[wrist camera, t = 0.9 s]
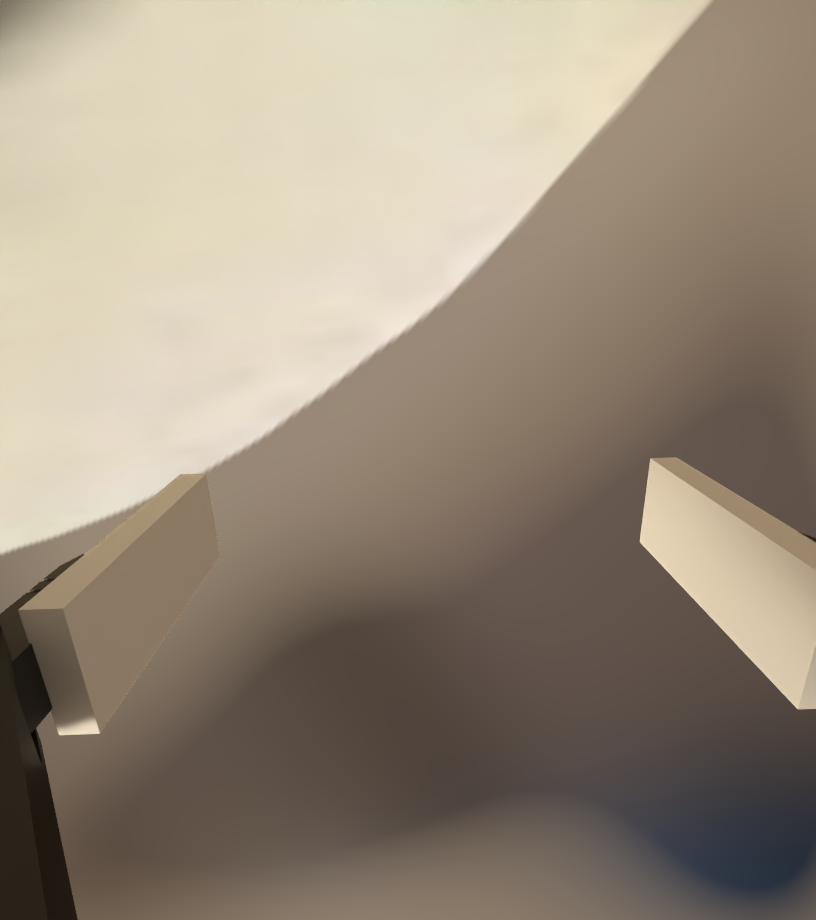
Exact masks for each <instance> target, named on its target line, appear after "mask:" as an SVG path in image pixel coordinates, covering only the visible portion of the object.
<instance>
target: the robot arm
mask: <svg viewBox="0 0 816 920" xmlns="http://www.w3.org/2000/svg"><path fill="white" fill-rule="evenodd" d="M640 543H641V544H642V545H643V546H644V547H645V548H646V549H647V550H648V551H649V552H650V553H651V554H652V555H653V557H655V559H656V560H657V561H658V562H659V563H660V564H661V565H662V566H663V567H664V568H665V569H666V570H667V571H668V572H669V573H670V574H671V576H673V578H674V579H675V580H676V581H677V582H678V583H679V584H680V585H681V586H682V587H683V588H684V589H685V590H686V591H687V592H688V594H689V595H690V596H691V597H692V598H693V599H694V600H695V601H696V602H697V603H698V604H699V605H700V606H701V607H702V608H703V609H704V610H705V612H706V613H707V614H708V615H709V616H710V617H711V618H712V619H713V620H714V621H715V622H716V623H717V624H718V625H719V626H720V627H721V628H722V629H723V631H724V632H725V633H726V634H727V635H728V636H729V637H730V638H731V639H732V640H733V641H734V642H735V643H736V644H737V645H738V646H739V648H740V649H742V651H743V652H744V653H745V654H746V655H747V656H748V657H749V658H750V659H751V660H752V661H753V662H754V663H755V664H756V665H757V667H758V668H759V669H760V670H761V671H762V672H763V673H764V674H765V675H766V676H767V677H768V678H769V679H770V680H771V681H772V682H773V683H774V685H775V686H776V687H777V688H778V689H779V690H780V691H781V692H782V693H783V694H784V695H785V696H786V697H787V698H788V699H789V700H790V702H791V703H792V704H793V705H794V706H795V707H796V708H797V709H816V538H814V537H811V536H808V535H806V534H803V533H800V532H798V531H796V530H794V529H793V528H791V527H789V526H788V525H786V524H784V523H783V522H781V521H780V520H778V519H776V518H774V517H773V516H771V515H770V514H768V513H766V512H764V511H763V510H761V509H760V508H758V507H756V506H755V505H753V504H752V503H750V502H748V501H746V500H745V499H743V498H742V497H740V496H739V495H737V494H735V493H734V492H732V491H730V490H728V489H727V488H725V487H724V486H722V485H721V484H719V483H717V482H716V481H714V480H712V479H711V478H709V477H707V476H706V475H704V474H702V473H701V472H699V471H698V470H696V469H694V468H693V467H691V466H689V465H687V464H686V463H684V462H683V461H681V460H680V459H678V458H651V459H650V466H649V474H648V482H647V489H646V498H645V505H644V513H643V521H642V529H641V536H640ZM219 558H220V551H219V545H218V539H217V534H216V529H215V522H214V516H213V510H212V504H211V499H210V493H209V487H208V481H207V475H206V474H180V475H179V476H178V477H177V478H175V479H174V480H173V481H172V482H171V483H169V484H168V485H167V486H166V487H165V488H163V489H162V490H161V491H160V492H159V493H158V494H156V495H155V496H154V497H153V498H152V499H150V500H149V501H148V502H147V503H146V504H144V505H143V506H142V507H141V508H140V509H138V510H137V511H136V512H135V513H134V514H132V515H131V516H130V517H129V518H128V519H126V520H125V521H124V522H123V523H122V524H121V525H119V526H118V527H117V528H116V529H114V530H113V531H112V532H111V533H110V534H108V535H107V536H106V537H105V538H104V539H102V540H101V541H100V542H99V543H98V544H96V545H95V546H94V547H93V548H92V549H91V550H89V551H88V552H87V553H86V554H82V555H80V556H78V557H77V558H74V559H73V560H71V561H69V562H67V563H65V564H63V565H61V566H59V567H58V568H57V569H56V570H54V571H53V572H52V573H51V574H49V575H48V576H47V577H46V578H44V581H43V582H39V583H38V584H37V585H36V586H35V587H33V588H32V589H31V590H30V593H26V594H25V595H23V596H22V597H21V598H20V599H18V600H17V601H16V602H15V603H13V604H12V605H11V606H10V607H9V608H7V609H6V610H5V611H4V612H2V613H1V614H0V920H78V919H77V914H76V909H75V905H74V900H73V895H72V890H71V885H70V880H69V876H68V871H67V866H66V861H65V856H64V851H63V846H62V841H61V837H60V832H59V827H58V822H57V817H56V813H55V808H54V803H53V798H52V793H51V788H50V783H49V778H48V773H47V769H46V764H45V759H44V754H43V749H42V745H41V741H40V738H39V735H38V732H37V729H36V727H37V726H38V725H39V724H40V723H41V721H42V720H43V719H44V718H45V717H46V715H47V714H48V713H49V712H50V711H51V712H52V715H53V718H54V721H55V724H56V727H57V730H58V733H59V735H75V734H100V733H101V731H102V730H103V728H104V727H105V725H106V724H107V723H108V721H109V720H110V718H111V716H112V715H113V714H114V712H115V710H116V709H117V708H118V706H119V705H120V703H121V702H122V700H123V699H124V697H125V696H126V695H127V693H128V692H129V690H130V689H131V687H132V686H133V684H134V683H135V681H136V680H137V678H138V677H139V675H140V674H141V672H142V671H143V670H144V668H145V667H146V665H147V664H148V662H149V661H150V659H151V658H152V656H153V655H154V653H155V652H156V650H157V649H158V647H159V646H160V644H161V643H162V642H163V640H164V639H165V637H166V636H167V634H168V633H169V631H170V630H171V628H172V627H173V625H174V624H175V622H176V621H177V619H178V618H179V616H180V615H181V614H182V612H183V611H184V609H185V608H186V606H187V605H188V603H189V602H190V600H191V599H192V597H193V596H194V594H195V593H196V591H197V590H198V588H199V587H200V586H201V584H202V583H203V581H204V580H205V578H206V577H207V575H208V574H209V572H210V571H211V569H212V568H213V566H214V565H215V564H216V562H217V561H218V559H219Z"/></svg>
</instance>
